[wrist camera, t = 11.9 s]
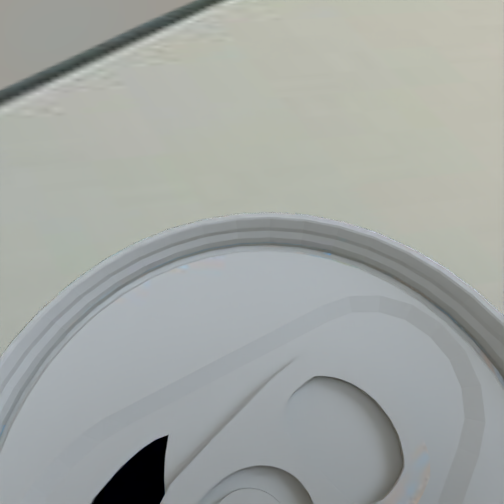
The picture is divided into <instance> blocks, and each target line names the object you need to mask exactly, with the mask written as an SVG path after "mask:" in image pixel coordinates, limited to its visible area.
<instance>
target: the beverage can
mask: <svg viewBox="0 0 504 504" xmlns="http://www.w3.org/2000/svg"><path fill="white" fill-rule="evenodd" d="M104 487H105V488H104ZM103 488H104V496H103V504H504V315H503V314H502V313H500V312H499V311H498V310H497V309H496V308H495V307H494V306H493V305H492V304H491V303H490V302H488V301H487V300H486V299H485V298H484V297H483V296H482V295H481V294H480V293H479V292H478V291H477V290H475V289H474V288H472V287H471V286H470V285H468V284H467V283H466V282H464V281H463V280H462V279H460V278H459V277H458V276H456V275H455V274H453V273H452V272H451V271H449V270H448V269H447V268H445V267H444V266H442V265H441V264H439V263H437V262H435V261H434V260H432V259H430V258H428V257H427V256H425V255H423V254H422V253H420V252H418V251H416V250H415V249H413V248H411V247H409V246H407V245H405V244H402V243H400V242H398V241H396V240H393V239H391V238H389V237H386V236H384V235H382V234H380V233H377V232H375V231H371V230H368V229H365V228H362V227H358V226H355V225H352V224H349V223H346V222H342V221H337V220H332V219H327V218H321V217H316V216H311V215H304V214H289V213H275V212H266V213H245V214H233V215H227V216H221V217H215V218H208V219H202V220H199V221H195V222H192V223H188V224H185V225H181V226H178V227H174V228H171V229H167V230H165V231H162V232H160V233H158V234H155V235H153V236H150V237H148V238H146V239H143V240H141V241H138V242H136V243H134V244H132V245H130V246H128V247H126V248H125V249H123V250H121V251H119V252H117V253H116V254H114V255H112V256H110V257H108V258H107V259H105V260H103V261H101V262H100V263H98V264H97V265H95V266H94V267H93V268H91V269H90V270H88V271H87V272H86V273H84V274H83V275H81V276H80V277H79V278H77V279H76V280H74V281H73V282H72V283H70V284H69V285H68V286H67V287H66V288H64V289H63V290H62V291H61V292H60V293H59V294H58V295H56V296H55V297H54V298H53V299H52V300H51V301H50V302H49V303H47V304H46V305H45V306H44V307H43V308H42V309H41V310H40V311H39V312H38V313H37V314H36V315H35V316H34V317H33V318H32V319H31V320H30V322H29V323H28V324H27V325H26V326H25V327H24V328H23V329H22V330H21V331H20V333H19V334H18V335H17V336H16V337H15V338H14V339H13V340H12V341H11V343H10V344H9V345H8V347H7V348H6V349H5V351H4V352H3V354H2V355H1V356H0V504H92V502H93V501H94V499H95V497H96V496H97V495H98V494H99V493H100V491H101V490H102V489H103Z"/></svg>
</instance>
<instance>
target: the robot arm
mask: <svg viewBox="0 0 504 504" xmlns="http://www.w3.org/2000/svg"><path fill="white" fill-rule="evenodd" d="M104 488H105V487H104ZM104 488H103V489H102V490H101V491H100V493H99V494H98V495H97V496H96V497H95V499H94V501H93V502H92V504H103V496H104Z"/></svg>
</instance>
